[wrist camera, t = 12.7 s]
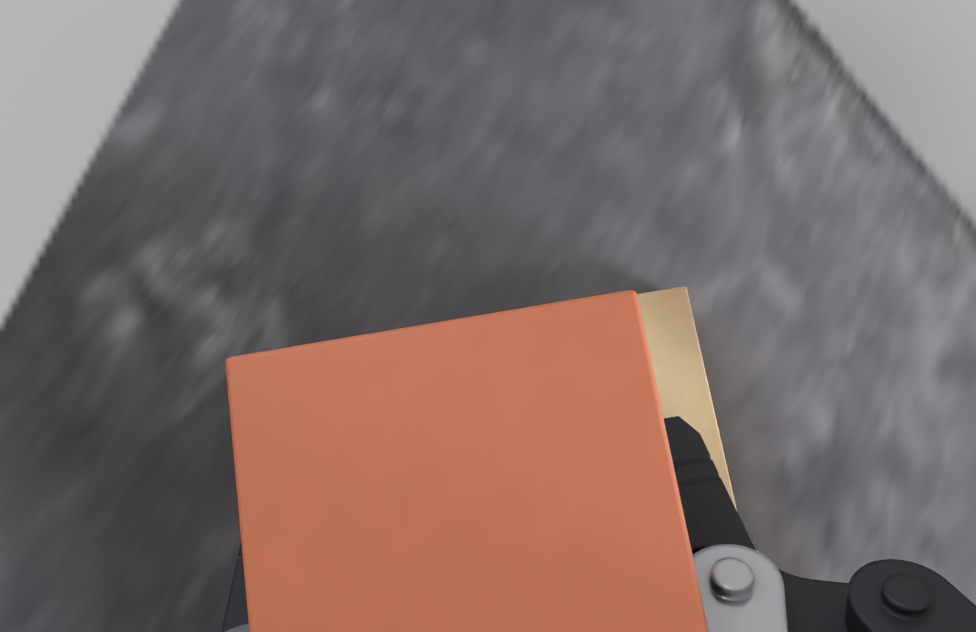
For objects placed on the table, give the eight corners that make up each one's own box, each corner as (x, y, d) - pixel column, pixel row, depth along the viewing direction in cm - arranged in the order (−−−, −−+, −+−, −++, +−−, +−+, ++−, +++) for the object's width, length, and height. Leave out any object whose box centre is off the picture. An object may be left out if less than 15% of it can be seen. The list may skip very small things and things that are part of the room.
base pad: (294, 852, 21) (238, 933, 17) (247, 368, 23) (190, 336, 19) (783, 769, 21) (849, 830, 17) (677, 296, 23) (711, 249, 19)
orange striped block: (413, 737, 17) (275, 1007, 8) (374, 440, 19) (217, 352, 9) (635, 699, 17) (777, 923, 8) (579, 405, 19) (639, 282, 9)
